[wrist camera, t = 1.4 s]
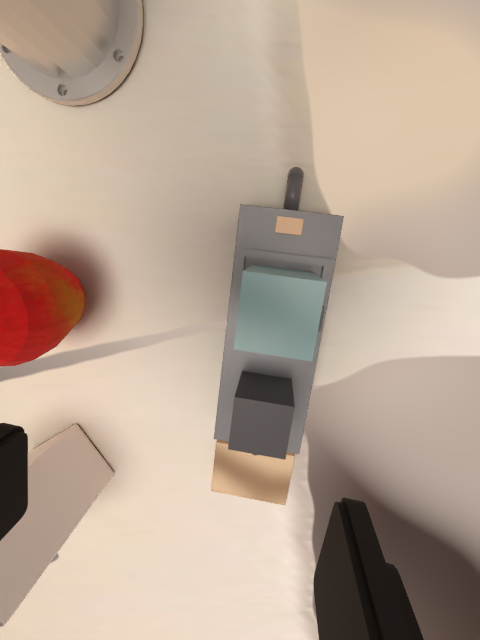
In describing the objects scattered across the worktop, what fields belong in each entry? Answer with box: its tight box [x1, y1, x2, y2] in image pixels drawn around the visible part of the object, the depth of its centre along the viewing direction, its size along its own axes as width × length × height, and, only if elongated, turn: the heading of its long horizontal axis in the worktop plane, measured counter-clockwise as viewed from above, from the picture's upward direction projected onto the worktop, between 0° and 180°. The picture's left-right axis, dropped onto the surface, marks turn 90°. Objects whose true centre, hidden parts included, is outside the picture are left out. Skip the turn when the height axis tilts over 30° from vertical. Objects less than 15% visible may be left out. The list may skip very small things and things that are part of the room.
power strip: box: [214, 167, 344, 460], centre depth 26 cm, size 25×8×8 cm, turn 173°
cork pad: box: [211, 440, 294, 505], centre depth 33 cm, size 6×8×1 cm
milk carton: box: [0, 424, 114, 627], centre depth 27 cm, size 7×7×19 cm
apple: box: [0, 249, 85, 366], centre depth 26 cm, size 9×9×12 cm
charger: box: [233, 265, 327, 361], centre depth 23 cm, size 5×5×7 cm
